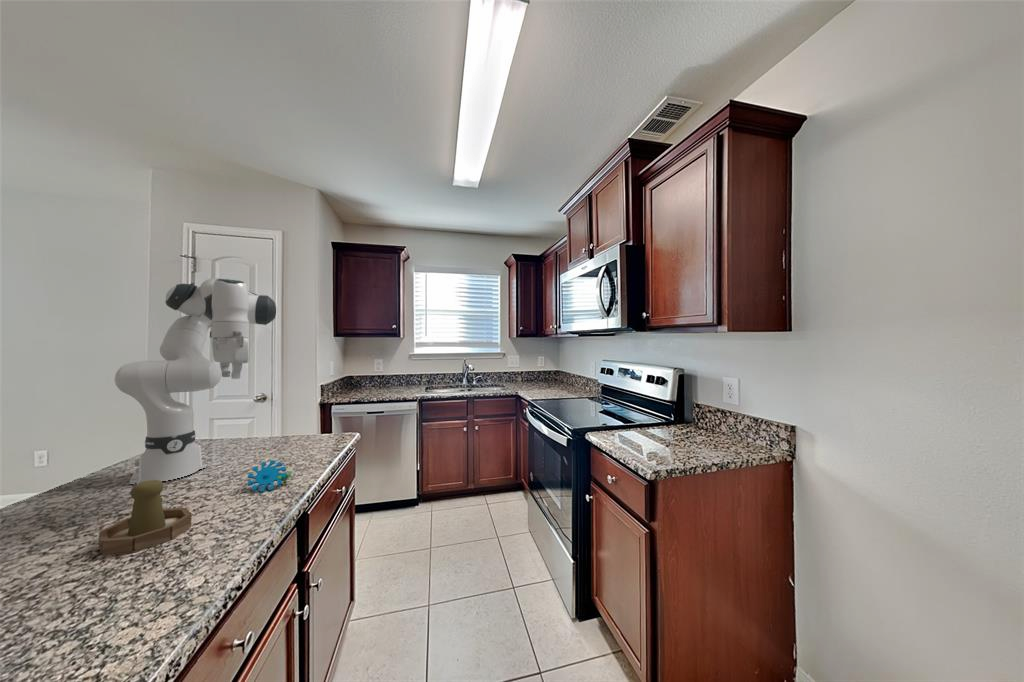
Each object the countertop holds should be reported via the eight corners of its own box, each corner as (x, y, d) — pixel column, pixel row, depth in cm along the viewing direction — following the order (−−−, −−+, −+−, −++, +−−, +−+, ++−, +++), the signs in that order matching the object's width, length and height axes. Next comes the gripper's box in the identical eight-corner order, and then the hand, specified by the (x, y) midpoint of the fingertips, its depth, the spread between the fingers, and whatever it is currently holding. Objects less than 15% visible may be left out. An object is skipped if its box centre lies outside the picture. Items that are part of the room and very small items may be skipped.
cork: (165, 520, 83) (165, 474, 83) (166, 529, 79) (166, 481, 79) (128, 529, 79) (128, 482, 79) (126, 540, 75) (127, 489, 75)
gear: (240, 490, 99) (254, 458, 106) (244, 499, 103) (256, 467, 110) (284, 490, 103) (294, 459, 110) (286, 498, 106) (296, 468, 113)
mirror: (97, 539, 77) (97, 526, 77) (182, 514, 88) (182, 503, 88) (103, 562, 69) (103, 547, 69) (195, 531, 80) (195, 519, 80)
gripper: (255, 331, 100) (255, 378, 100) (233, 333, 112) (233, 375, 112) (228, 330, 95) (228, 380, 94) (207, 332, 107) (207, 377, 107)
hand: (230, 377), depth 103 cm, fingers open, 8 cm apart
